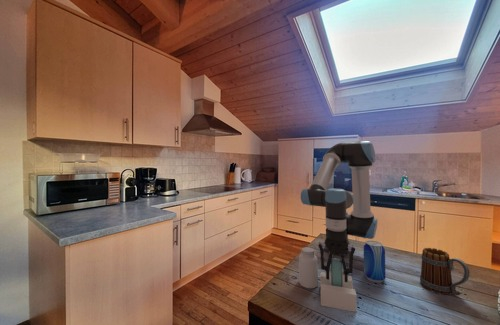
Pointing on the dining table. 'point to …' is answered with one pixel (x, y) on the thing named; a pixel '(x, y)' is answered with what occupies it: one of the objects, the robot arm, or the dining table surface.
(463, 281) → the mug
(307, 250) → the pill bottle
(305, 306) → the dining table surface
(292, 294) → the dining table surface
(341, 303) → the socket
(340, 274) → the peg
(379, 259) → the beer can
